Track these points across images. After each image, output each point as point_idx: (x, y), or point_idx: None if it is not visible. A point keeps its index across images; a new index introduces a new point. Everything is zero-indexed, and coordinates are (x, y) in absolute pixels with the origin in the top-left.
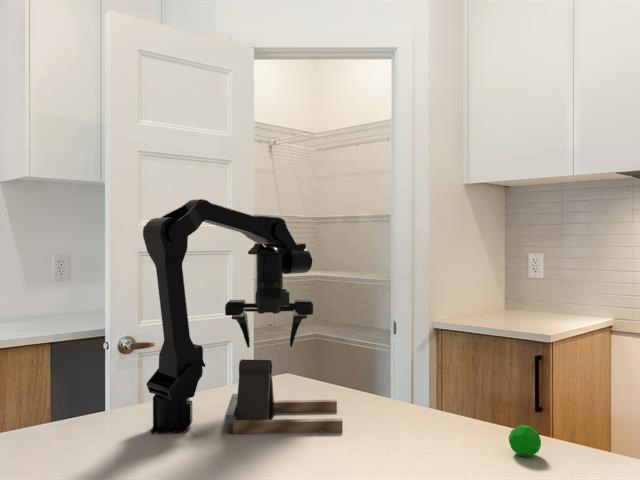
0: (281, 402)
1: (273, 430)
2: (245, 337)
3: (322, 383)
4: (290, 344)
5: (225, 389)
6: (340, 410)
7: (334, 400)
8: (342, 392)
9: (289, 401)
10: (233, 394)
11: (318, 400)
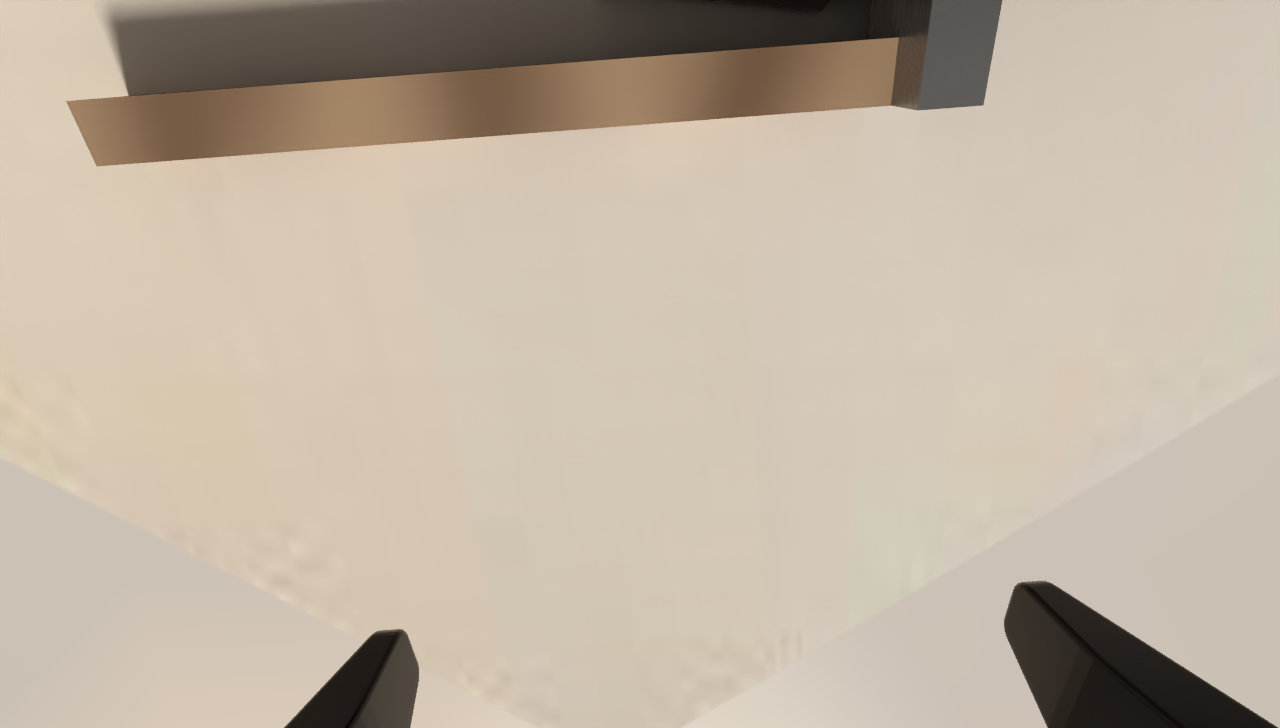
0: (539, 65)
1: None
2: (1222, 709)
3: None
4: (381, 654)
5: (934, 540)
6: None
7: (100, 136)
8: (237, 511)
9: (476, 98)
10: (976, 85)
11: (237, 133)
